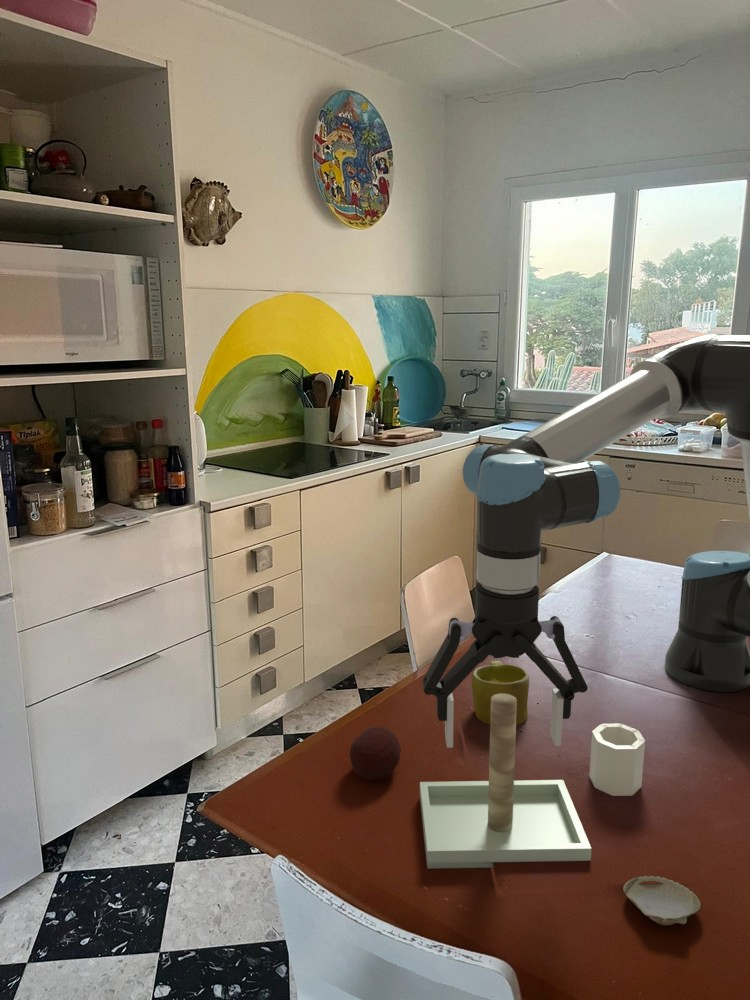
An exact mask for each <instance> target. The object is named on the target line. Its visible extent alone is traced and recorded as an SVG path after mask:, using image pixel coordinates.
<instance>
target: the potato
mask: <svg viewBox="0 0 750 1000" xmlns="http://www.w3.org/2000/svg"><path fill="white" fill-rule="evenodd" d="M401 748H402V747H401V745H400V742H399V739H398V737H397V735H396V734H395V733H394V732H393V731H392V730H391V729H389V728H387V727H385V726H383V725H373V726H369V727H368V728H365V730H363V731H362V732H361V733H360V734H359V735H358V736H357V737H355V738H354V740H353V741H352V743H351V746H350V750H349V760H350V763H351V766H352V769H353V770H354V772H355V773H356V774H357V775H358V776H359V777H360V778H362V779H365V780H367V781H368V780H369V781H370V780H373V781H374V780H378V779H382V778H384V777H387V776H388V775H390V774H391V773H392V772H393V771H394V770H395V769H396V767H397V765H399V763H400V759H401V753H402V752H401V750H402V749H401Z"/></svg>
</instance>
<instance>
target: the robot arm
mask: <svg viewBox="0 0 750 1000" xmlns="http://www.w3.org/2000/svg"><path fill="white" fill-rule="evenodd" d="M685 411H708V412H713V413H721V414H724V415H725V420H726V427H727V433H728V435H729V436H730V437H732V438H733V439H735V440H737V441H739V443H740V449H741V458H742V459H741V460H742V465H743V473H744V475H743V476H744V481H745V482H744V483H745V492H746V500H747V506H748V507H747V508H748V514H749V518H750V334H724V333H723V334H722V333H718V334H717V333H715V334H714V333H713V334H711V333H710V334H704V335H699V336H697V337H693V338H690V339H688V340H687V339H686V340H685V341H681V342H679V343H678V344H677V343H676V344H674V345H672V346H670V347H666V348H665V349H663V350H661V351H659V352H657V353H655V354H653V355H650V356H649V357H647V358H646V359H644V360H642V361H640V362H639V363H637V364H636V365H635V366H634V367H633V368H632V370H631V371H630V374H629V375H628V376H627V377H624V378H623V379H621V380H620V381H617V382H616V383H614V384H613V385H610V386H609V387H606V389H604V390H602V391H600V392H598V393H596V394H594V395H593V396H591V397H589V398H587V399H585V400H584V401H582V402H580V403H578V404H576V405H575V406H573V407H571V408H569V409H568V410H565V411H564V412H562V413H560V414H558V415H557V416H555V417H554V418H551V419H549V420H548V421H546V422H544V423H543V424H541V425H539V426H537V427H535V428H533V429H532V430H530V431H528V432H527V433H524V434H523V435H521V436H519V437H517V438H515V439H514V440H512V441H510V442H508V443H506V444H504V445H500V446H499V445H497V444H481V445H479V446H476V447H475V448H473V449H472V450H471V451H470V452H469V453H468V454H467V456H466V457H465V460H464V461H463V462H464V463H463V466H462V480H463V482H464V485H465V487H466V489H467V490H468V491H469V492H470V493H471V494H473V495H474V496H476V498H477V505H476V506H477V518H476V519H477V521H476V522H477V523H476V525H477V530H476V531H477V535H476V537H477V539H476V540H477V542H476V543H477V544H476V546H477V547H476V571H475V572H476V576H475V578H476V581H477V584H476V585H475V613H474V614H475V615H474V619H473V620H472V621H471V622H470V621H460V620H459V618H457V617H452V618H450V620H449V623H448V629H447V635H446V636H445V638H444V640H443V642H442V644H441V646H440V648H439V649H438V651H437V653H436V655H435V657H434V658H433V660H432V662H431V664H430V666H429V667H428V670H427V671H426V673H425V674H424V677H423V679H422V688H423V689H422V690H423V693H424V695H427V696H430V695H432V696H435V697H436V715H437V719H438V721H439V722H442V721H443V722H444V738H445V744H446V748H454V715H455V713H454V709H455V707H454V705H455V702H454V701H455V700H454V696H453V692H454V691H455V690H456V689H457V688H458V687H459V685H461V683H462V682H463V681H464V680H465V679H466V678H467V677H468V676H469V675H470V674H471V672H473V671H474V670H475V669H476V667H477V666H478V665H479V664H481V663H483V662H484V661H485V660H486V659H487V658H488V657H489V656H491V657H493V659H501V658H505V657H506V658H507V657H508V658H511V659H514V658H515V659H519V658H520V656H523V655H524V654H525V655H526V656H527V657H528V658H529V659H530V660H531V661H532V662H533V663H534V664H535V665H536V666H537V667H538V668H539V670H540V671H541V672H542V673H543V674H544V675H545V676H546V677H547V679H548V680H549V681H550V682H551V683H552V685H554V688H552V689H551V690H552V691H551V692H552V693H551V709H550V710H551V712H550V730H549V731H550V732H549V735H550V737H551V740H552V742H553V744H554V747H562V737H563V735H562V734H563V720H568V719H570V717H571V712H572V701H573V700H574V699H575V694H576V693H586V692H587V691H588V685H587V682H586V680H585V679H584V677H583V674H582V673H581V671H580V669H579V666H578V664H577V661H576V660H575V658H574V656H573V654H572V652H571V650H570V648H569V645H568V643H567V642H566V634H565V627H564V626H565V625H563V623H562V621H561V619H560V618H559V616H555V615H553V616H551V617H550V619H549V620H541V621H539V601H540V599H539V596H540V593H539V592H540V588H539V587H538V584H539V583H540V575H541V574H540V573H541V572H540V571H541V550H542V536H543V531H544V532H545V531H549V530H555V529H559V528H564V527H570V526H576V525H580V524H581V525H582V524H590V523H592V522H594V521H596V520H600V519H604V518H607V517H608V516H610V515H612V514H613V513H614V512H615V510H616V509H617V508H618V505H619V503H620V500H621V483H620V479H619V477H618V475H617V473H616V472H615V471H614V469H613V468H612V467H611V466H610V465H608V464H607V463H605V462H603V461H600V460H589V461H588V460H587V459H589V458H591V457H593V456H594V455H595V454H597V453H599V452H600V451H603V450H604V449H605V448H607V447H609V446H611V445H612V444H614V443H615V442H616V443H617V441H619V440H621V439H622V438H624V437H626V436H628V435H629V434H631V433H632V432H635V431H636V430H638V429H639V428H642V426H644V425H646V424H648V423H649V422H651V421H653V420H654V419H660V420H663V419H668V418H670V417H672V416H675V415H676V414H677V413H680V412H685ZM681 580H682V581H681V591H680V604H679V616H678V626H677V627H678V628H677V631H676V633H675V634H674V637H673V639H672V640H671V643H670V645H669V647H668V649H667V651H666V654H665V659H664V669H665V671H666V673H667V674H668V675H669V676H670V677H671V678H673V679H674V680H675V681H678V682H680V683H682V684H684V685H686V686H690V687H692V688H694V689H697V690H699V689H700V690H702V691H703V690H704V691H708V692H709V691H710V692H716V693H717V692H718V693H731V692H738V691H739V692H740V691H743V690H745V689H747V688H749V687H750V647H749V644H748V638H750V553H746V552H741V551H733V550H732V551H731V550H708V551H700V552H696V553H694V554H691V555H690V556H689V557H687V558H686V560H685V562H684V566H683V572H682V576H681ZM541 633H545V635H546V637H547V638H548V639H550V640H551V639H552V640H553V642H554V645H555V648H556V649H557V651H558V653H559V656H560V658H561V659H562V661H563V663H564V665H565V667H566V669H567V671H568V674H569V676H570V679H566V678H565V677H564V676H563V675H562V674H561V673H560V671H559V670H558V669H557V667H555V666H554V665H553V663H552V662H551V661H550V660H549V659H548V658H547V657H546V656H545V655H544V653H543V652H542V651H541V650H540V649H539V647H538V646H537V645H536V643H535V641H536V640H537V639H538V638H539V637H540V635H541ZM468 634H472V636H473V637H474V639H475V640H474V641H473V642H472V643H471V645H470V647H469V649H468V650H467V651H466V652H464V654H463V655H462V656H461V657H460V658H459V659H458V660H457V662H456V663H455V664H454V665H453V666H452V667H451V668H450V669H449V670H448V671H447V673H446V674H444V673H445V671H446V669H447V668H448V666H449V664H450V663H451V661H452V659H453V657H454V655H455V653H456V652H457V650H458V648H459V646H460V641H464V640H465V639H466V637H467V636H468ZM443 675H444V676H443Z"/></svg>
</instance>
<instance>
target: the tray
mask: <svg viewBox="0 0 750 1000" xmlns="http://www.w3.org/2000/svg"><path fill="white" fill-rule="evenodd" d="M488 794H489V780H470V781H469V780H467V781H465V780H464V781H462V780H461V781H459V780H457V781H420V782H419V802H420V803H419V804H420V812H421V822H422V823H421V824H422V830H423V831H422V832H423V841H424V851H425V860H426V868H427V869H428V870H429V869H477V868H479V869H480V868H481V869H483V868H484V869H485V868H486V869H487V868H488V869H489V868H491V869H492V868H495V867H494V863H523V862H524V863H528V862H529V863H531V862H533V863H535V862H536V863H537V862H538V863H540V862H591V860H592V859H591V858H592V850H593V849H592V847H591V844H590V841H589V839H588V837H587V834H586V831H585V829H584V827H583V824H582V822H581V820H580V818H579V814H578V813H577V812H578V811H577V810H576V808H575V805H574V803H573V800H572V798H571V795H570V793H569V791H568V788H567V786H566V784H565V781H564V779H540V780H539V779H538V780H537V779H536V780H535V779H532V780H531V779H527V780H524V779H523V780H514V795H513V824H512V828H511V830H509V831H507V832H496V831H494V830H492V829H491V828H489V826H488Z"/></svg>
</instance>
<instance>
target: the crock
mask: <svg viewBox="0 0 750 1000" xmlns="http://www.w3.org/2000/svg"><path fill="white" fill-rule="evenodd" d="M591 731H592V732H591V744H590V745H591V746H590V760H589V773H588V774H589V775H588V776H589V778H590V781H591V783H592V785H593V787H594V788H595V789H597V790H599V791H601V792H604V794H608V795H610V796H613V797H614V796H615V797H616V796H617V797H620V796H621V797H625V796H629V797H631V796H634V794H636V793H637V792H638V791H639V790H640V789H641V788H642V786H643V784H642V783H643V775H644V774H643V771H644V762H645V761H644V760H645V759H644V758H645V748H646V747H645V746H646V739H645V738H644V737H643V735H642V734H641V732H640V731H639V729H636V728H633V727H631V726H629V725H626V724H624V723H620V722H618V723H601V724H599V725H598V726H597V727H596V728H594V729H593V730H591Z"/></svg>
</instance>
